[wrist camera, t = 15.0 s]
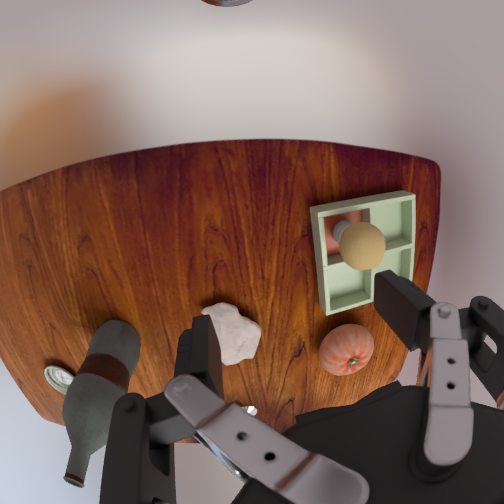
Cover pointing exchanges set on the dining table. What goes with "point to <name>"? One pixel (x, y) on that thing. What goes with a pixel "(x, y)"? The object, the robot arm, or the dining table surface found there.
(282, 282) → the dining table surface
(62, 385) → the saucer
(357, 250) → the light bulb
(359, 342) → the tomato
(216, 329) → the decorative stone
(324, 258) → the grid
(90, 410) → the bottle
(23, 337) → the dining table surface
